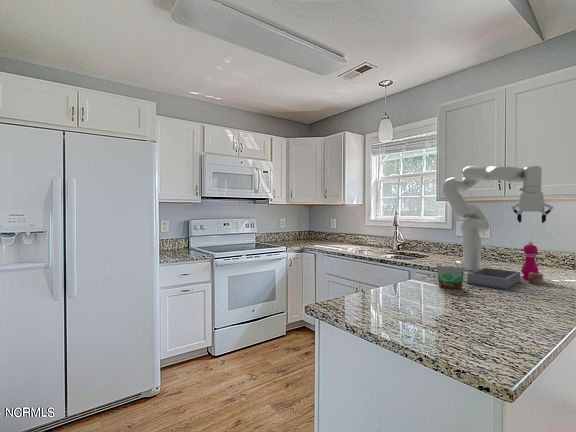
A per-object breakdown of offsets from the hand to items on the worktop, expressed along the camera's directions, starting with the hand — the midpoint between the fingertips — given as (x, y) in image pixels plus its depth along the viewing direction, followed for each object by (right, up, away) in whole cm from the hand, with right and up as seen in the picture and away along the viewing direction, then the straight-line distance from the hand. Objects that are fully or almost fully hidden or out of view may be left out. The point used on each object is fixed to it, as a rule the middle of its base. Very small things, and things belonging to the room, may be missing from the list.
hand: (531, 222), depth 161 cm
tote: (-25, -30, -9) cm, 40 cm away
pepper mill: (0, -30, 0) cm, 30 cm away
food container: (-54, -30, -21) cm, 65 cm away
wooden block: (-5, -30, -9) cm, 32 cm away
